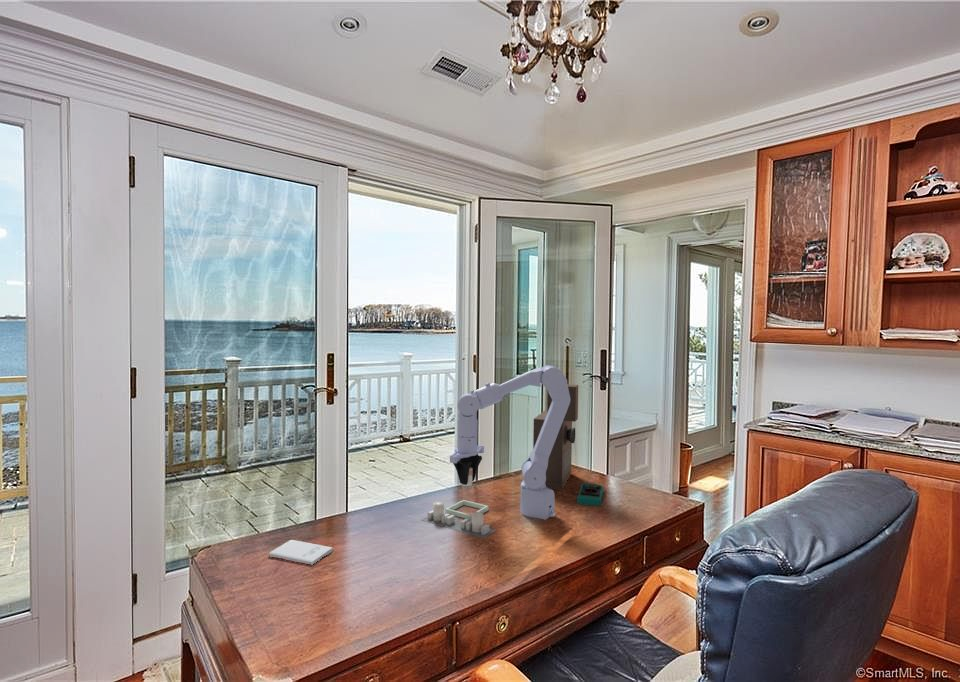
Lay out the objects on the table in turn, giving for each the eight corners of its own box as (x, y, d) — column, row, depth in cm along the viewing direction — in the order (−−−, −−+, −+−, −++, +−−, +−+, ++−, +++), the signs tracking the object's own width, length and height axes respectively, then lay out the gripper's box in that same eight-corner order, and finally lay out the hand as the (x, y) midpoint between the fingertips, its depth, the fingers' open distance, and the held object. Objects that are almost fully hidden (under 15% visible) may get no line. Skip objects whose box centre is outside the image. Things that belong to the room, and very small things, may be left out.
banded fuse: (474, 486, 148) (474, 468, 148) (468, 489, 146) (468, 470, 145) (466, 484, 150) (466, 466, 150) (459, 487, 147) (459, 468, 147)
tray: (488, 514, 149) (488, 506, 149) (471, 524, 142) (471, 515, 142) (463, 507, 154) (463, 499, 154) (445, 517, 147) (445, 508, 147)
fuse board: (496, 534, 135) (496, 523, 135) (484, 542, 130) (484, 531, 130) (434, 517, 146) (434, 507, 146) (420, 524, 141) (420, 513, 141)
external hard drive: (292, 545, 129) (333, 552, 125) (268, 559, 121) (312, 568, 117) (291, 538, 129) (333, 546, 125) (268, 552, 121) (312, 561, 117)
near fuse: (485, 530, 135) (485, 513, 135) (479, 533, 132) (479, 516, 132) (475, 527, 137) (476, 510, 137) (469, 531, 134) (469, 514, 134)
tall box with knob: (573, 491, 170) (575, 386, 169) (532, 486, 175) (533, 384, 174) (582, 475, 188) (583, 380, 187) (544, 470, 193) (545, 378, 192)
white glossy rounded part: (446, 519, 142) (446, 503, 142) (439, 522, 140) (439, 506, 139) (437, 516, 144) (437, 501, 144) (430, 520, 141) (431, 504, 141)
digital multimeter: (603, 492, 171) (603, 483, 170) (601, 508, 156) (601, 498, 156) (581, 490, 173) (581, 481, 173) (576, 505, 158) (576, 496, 158)
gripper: (470, 429, 155) (470, 473, 156) (441, 438, 143) (440, 486, 144) (489, 432, 152) (489, 477, 152) (461, 442, 139) (461, 491, 140)
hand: (467, 482), depth 148 cm, fingers closed on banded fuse, 3 cm apart
